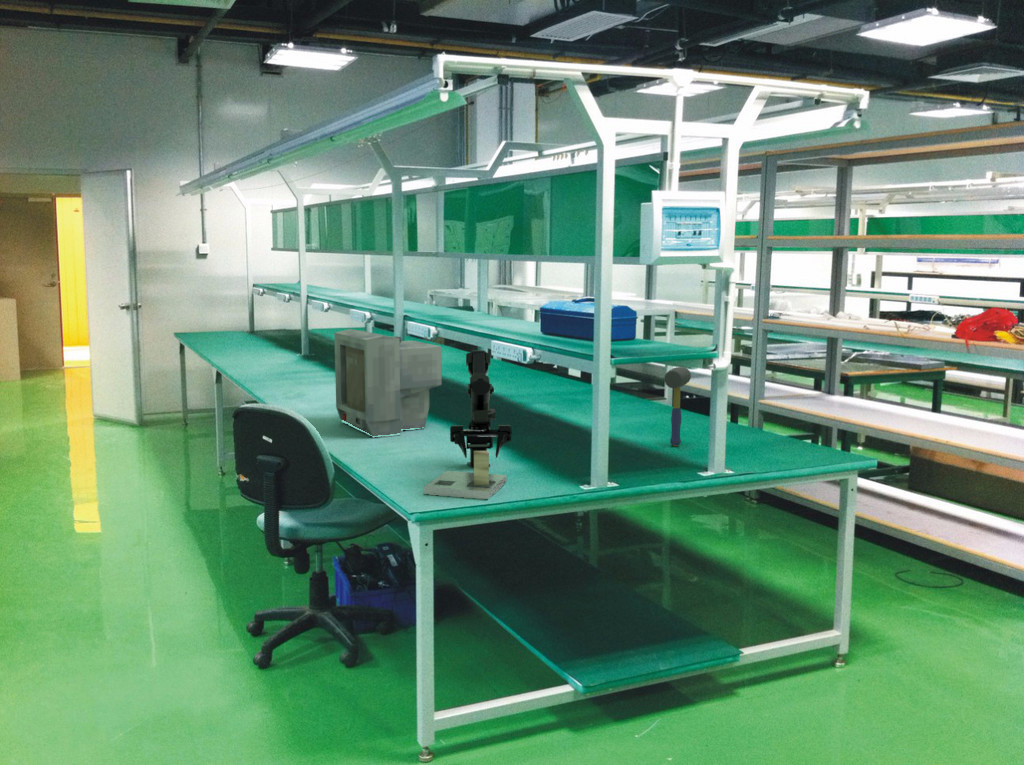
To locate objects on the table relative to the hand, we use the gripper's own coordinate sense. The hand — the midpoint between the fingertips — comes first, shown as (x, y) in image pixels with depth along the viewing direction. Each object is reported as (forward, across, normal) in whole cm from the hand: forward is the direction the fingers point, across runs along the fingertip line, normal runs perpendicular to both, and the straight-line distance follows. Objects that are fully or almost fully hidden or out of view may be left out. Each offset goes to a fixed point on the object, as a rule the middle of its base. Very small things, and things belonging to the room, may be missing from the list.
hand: (481, 457), depth 260 cm
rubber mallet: (-36, +76, +52) cm, 98 cm away
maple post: (+5, 0, +6) cm, 8 cm away
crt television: (-65, -34, +82) cm, 110 cm away
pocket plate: (+4, -4, +11) cm, 13 cm away
